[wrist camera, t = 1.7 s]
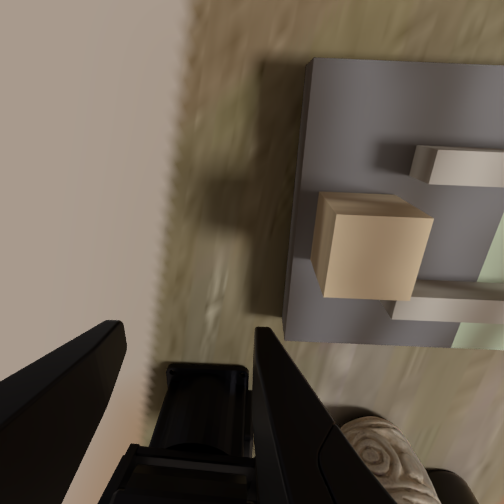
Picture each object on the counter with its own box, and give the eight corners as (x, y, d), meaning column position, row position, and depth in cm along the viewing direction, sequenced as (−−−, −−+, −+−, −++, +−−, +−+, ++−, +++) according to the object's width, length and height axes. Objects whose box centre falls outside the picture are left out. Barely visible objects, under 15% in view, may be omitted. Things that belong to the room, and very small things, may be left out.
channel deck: (281, 317, 23) (287, 363, 19) (306, 65, 16) (322, 49, 12) (581, 330, 23) (652, 378, 19) (728, 83, 16) (890, 73, 12)
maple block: (310, 259, 18) (323, 297, 14) (319, 191, 16) (336, 214, 13) (379, 262, 18) (409, 301, 14) (395, 194, 16) (434, 218, 13)
